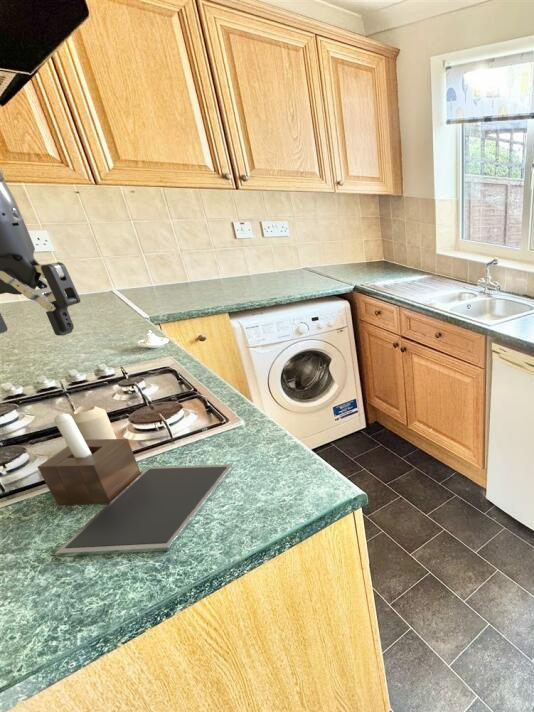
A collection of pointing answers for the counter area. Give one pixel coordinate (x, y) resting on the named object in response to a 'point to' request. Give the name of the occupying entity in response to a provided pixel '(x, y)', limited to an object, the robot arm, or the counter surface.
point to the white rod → (72, 435)
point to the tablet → (149, 511)
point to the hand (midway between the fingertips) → (32, 333)
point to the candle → (93, 423)
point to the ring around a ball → (152, 341)
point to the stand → (91, 473)
